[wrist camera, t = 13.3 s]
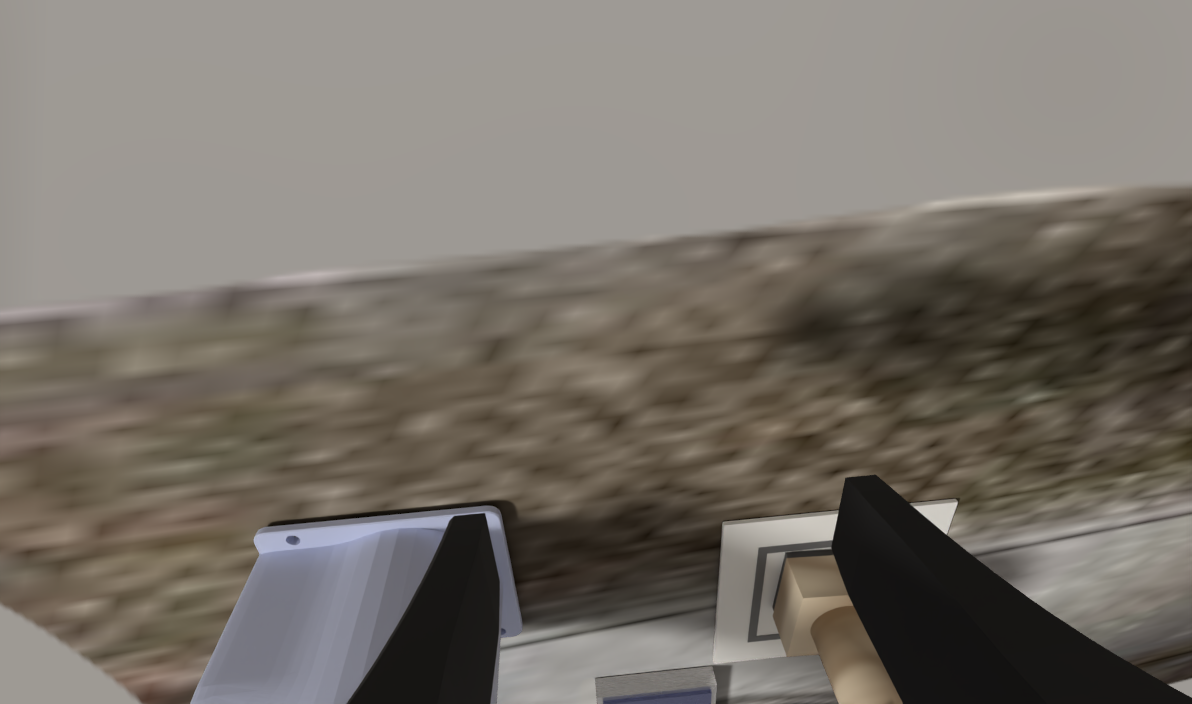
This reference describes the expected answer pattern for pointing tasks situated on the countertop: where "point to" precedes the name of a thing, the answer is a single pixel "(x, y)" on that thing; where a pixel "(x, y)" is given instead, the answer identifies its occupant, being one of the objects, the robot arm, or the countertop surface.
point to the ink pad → (659, 687)
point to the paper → (773, 574)
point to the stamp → (829, 628)
